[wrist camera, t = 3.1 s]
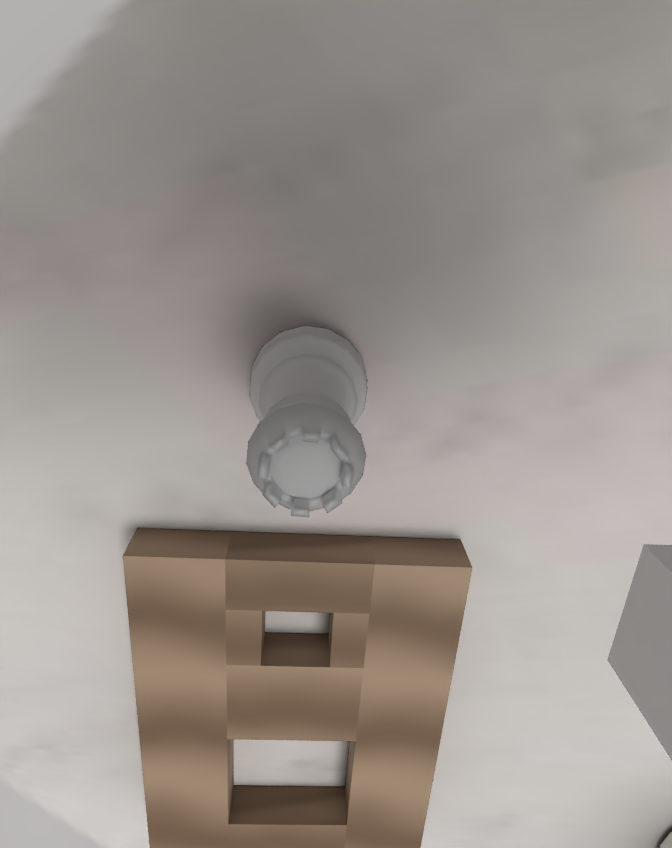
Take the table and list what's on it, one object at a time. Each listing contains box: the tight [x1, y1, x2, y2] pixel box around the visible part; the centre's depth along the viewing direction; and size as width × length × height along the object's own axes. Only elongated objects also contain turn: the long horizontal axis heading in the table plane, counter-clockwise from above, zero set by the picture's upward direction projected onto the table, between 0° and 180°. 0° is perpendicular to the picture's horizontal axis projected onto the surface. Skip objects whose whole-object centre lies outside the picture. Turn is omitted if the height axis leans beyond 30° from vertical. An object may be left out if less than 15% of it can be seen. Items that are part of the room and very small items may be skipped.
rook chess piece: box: [246, 326, 368, 517], centre depth 18 cm, size 4×4×8 cm
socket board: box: [123, 528, 472, 848], centre depth 27 cm, size 18×14×2 cm
